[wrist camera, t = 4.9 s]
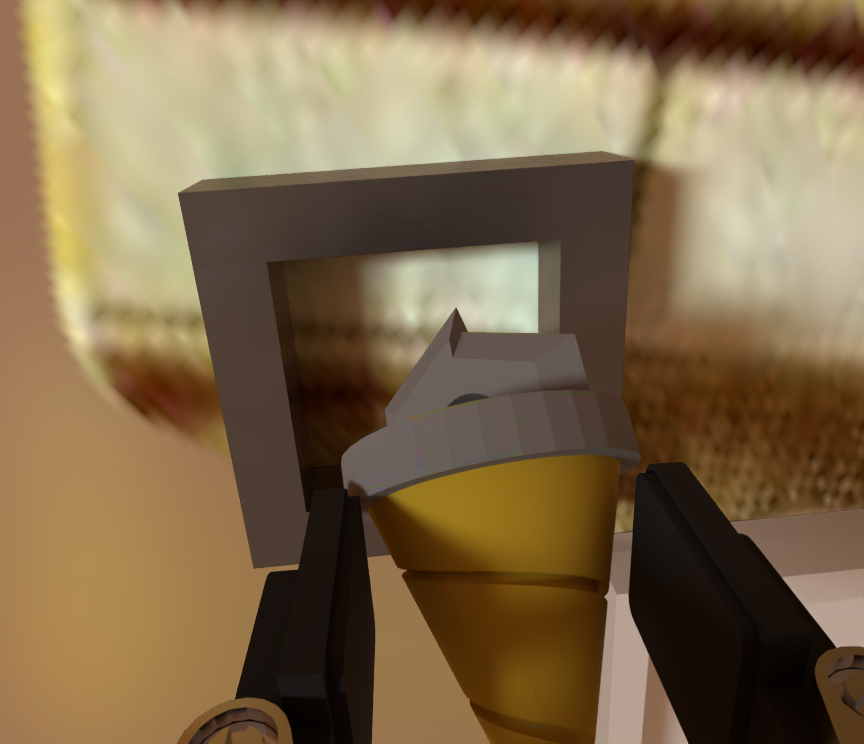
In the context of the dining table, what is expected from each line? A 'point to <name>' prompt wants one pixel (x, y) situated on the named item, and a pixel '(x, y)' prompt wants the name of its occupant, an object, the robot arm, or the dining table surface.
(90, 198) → the dining table surface
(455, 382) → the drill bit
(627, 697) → the tray
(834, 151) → the dining table surface
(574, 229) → the socket collar
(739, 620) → the robot arm
